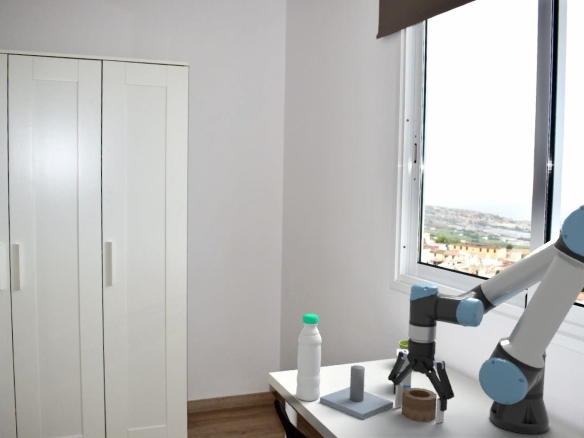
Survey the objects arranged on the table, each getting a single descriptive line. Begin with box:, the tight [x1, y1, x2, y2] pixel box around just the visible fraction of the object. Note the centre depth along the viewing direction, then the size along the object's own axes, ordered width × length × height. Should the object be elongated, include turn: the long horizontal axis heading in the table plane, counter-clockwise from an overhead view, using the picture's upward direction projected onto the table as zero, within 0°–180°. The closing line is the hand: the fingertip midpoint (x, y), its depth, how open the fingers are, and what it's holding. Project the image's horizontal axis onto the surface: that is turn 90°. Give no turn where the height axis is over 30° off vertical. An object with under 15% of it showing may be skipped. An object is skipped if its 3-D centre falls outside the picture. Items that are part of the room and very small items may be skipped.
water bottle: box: [295, 313, 322, 402], centre depth 165 cm, size 7×7×25 cm
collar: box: [401, 387, 438, 423], centre depth 155 cm, size 9×9×6 cm
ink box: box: [395, 348, 413, 390], centre depth 175 cm, size 8×5×12 cm, turn 168°
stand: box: [319, 364, 394, 420], centre depth 160 cm, size 16×14×11 cm
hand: (418, 414), depth 155 cm, fingers open, 13 cm apart
